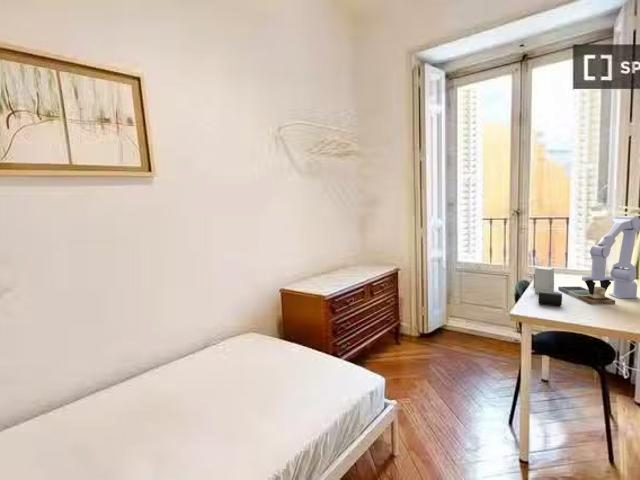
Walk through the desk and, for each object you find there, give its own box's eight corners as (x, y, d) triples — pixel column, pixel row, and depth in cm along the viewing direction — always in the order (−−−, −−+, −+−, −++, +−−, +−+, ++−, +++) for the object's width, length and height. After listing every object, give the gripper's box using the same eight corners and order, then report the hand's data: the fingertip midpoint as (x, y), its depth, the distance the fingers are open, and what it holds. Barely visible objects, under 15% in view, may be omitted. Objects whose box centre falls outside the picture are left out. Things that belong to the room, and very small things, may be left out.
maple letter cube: (598, 295, 194) (598, 286, 193) (604, 298, 189) (605, 288, 188) (588, 295, 194) (588, 286, 194) (594, 298, 189) (595, 288, 189)
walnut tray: (602, 299, 196) (603, 295, 195) (615, 304, 187) (615, 300, 186) (578, 299, 197) (578, 295, 196) (589, 304, 188) (589, 300, 187)
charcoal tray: (580, 289, 215) (580, 286, 215) (590, 294, 206) (590, 290, 206) (558, 289, 216) (558, 286, 216) (567, 294, 207) (567, 290, 207)
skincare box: (554, 293, 208) (555, 268, 206) (548, 295, 205) (550, 269, 203) (538, 291, 215) (539, 266, 213) (533, 292, 212) (534, 267, 210)
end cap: (538, 305, 188) (538, 292, 187) (538, 301, 194) (538, 289, 193) (561, 308, 183) (562, 294, 182) (560, 304, 189) (561, 291, 188)
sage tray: (590, 294, 205) (591, 290, 205) (602, 298, 196) (602, 295, 196) (568, 294, 206) (568, 290, 206) (578, 298, 197) (578, 295, 197)
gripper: (588, 270, 186) (587, 296, 188) (619, 270, 185) (617, 296, 187) (580, 267, 193) (578, 292, 195) (609, 267, 192) (607, 292, 194)
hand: (596, 294), depth 191 cm, fingers closed on maple letter cube, 5 cm apart
